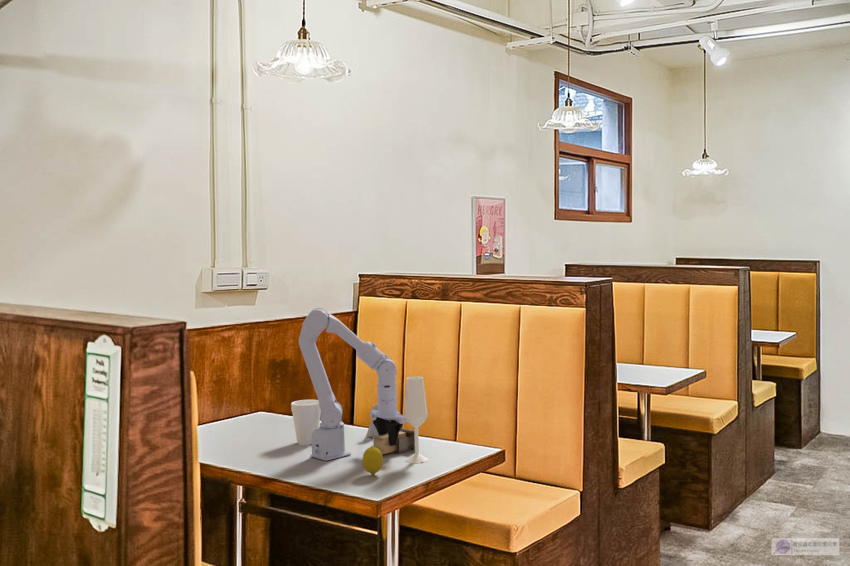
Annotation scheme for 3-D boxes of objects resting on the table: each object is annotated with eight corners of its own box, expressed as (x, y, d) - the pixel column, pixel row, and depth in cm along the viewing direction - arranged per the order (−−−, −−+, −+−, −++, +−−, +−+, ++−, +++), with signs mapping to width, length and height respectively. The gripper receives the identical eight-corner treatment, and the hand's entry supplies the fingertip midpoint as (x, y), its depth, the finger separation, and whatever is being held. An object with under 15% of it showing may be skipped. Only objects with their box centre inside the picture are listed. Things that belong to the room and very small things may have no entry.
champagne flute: (402, 458, 227) (400, 377, 226) (423, 456, 229) (421, 375, 228) (410, 464, 220) (407, 380, 219) (432, 461, 223) (430, 378, 222)
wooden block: (398, 446, 239) (398, 430, 239) (406, 448, 236) (405, 432, 236) (373, 452, 232) (373, 436, 232) (381, 454, 229) (380, 438, 229)
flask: (378, 439, 251) (377, 408, 251) (362, 436, 256) (361, 406, 255) (393, 434, 257) (392, 404, 256) (376, 432, 261) (376, 402, 261)
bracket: (403, 454, 231) (402, 434, 231) (381, 449, 238) (381, 429, 238) (417, 450, 235) (417, 431, 235) (396, 445, 242) (395, 426, 242)
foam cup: (325, 444, 246) (324, 403, 246) (296, 447, 243) (295, 406, 242) (318, 437, 255) (316, 398, 255) (290, 441, 252) (288, 401, 251)
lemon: (383, 471, 214) (382, 443, 213) (383, 477, 208) (382, 448, 208) (363, 472, 214) (362, 443, 213) (362, 478, 208) (361, 448, 208)
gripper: (413, 399, 231) (414, 445, 231) (381, 394, 241) (383, 437, 242) (395, 403, 226) (396, 449, 226) (364, 397, 236) (365, 441, 237)
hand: (388, 443), depth 234 cm, fingers closed on wooden block, 3 cm apart
